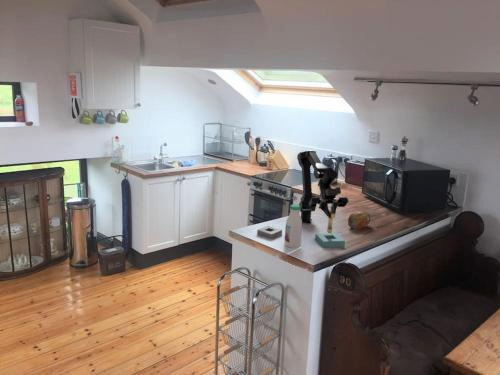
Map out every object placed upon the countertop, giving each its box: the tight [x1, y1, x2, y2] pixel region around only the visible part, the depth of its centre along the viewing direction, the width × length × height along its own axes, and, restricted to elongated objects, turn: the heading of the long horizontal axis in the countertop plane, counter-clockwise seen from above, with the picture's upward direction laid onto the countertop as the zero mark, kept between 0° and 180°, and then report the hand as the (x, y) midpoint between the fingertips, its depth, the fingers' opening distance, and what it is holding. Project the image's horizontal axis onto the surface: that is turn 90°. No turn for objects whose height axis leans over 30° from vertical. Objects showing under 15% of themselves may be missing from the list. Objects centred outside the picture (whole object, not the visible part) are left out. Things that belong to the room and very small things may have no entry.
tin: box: [347, 211, 371, 230], centre depth 237 cm, size 15×3×8 cm, turn 122°
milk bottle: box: [284, 204, 303, 249], centre depth 204 cm, size 8×8×20 cm
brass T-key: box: [326, 209, 336, 234], centre depth 209 cm, size 6×2×10 cm, turn 11°
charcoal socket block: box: [256, 225, 283, 240], centre depth 218 cm, size 9×9×3 cm
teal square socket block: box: [314, 232, 346, 248], centre depth 212 cm, size 11×11×3 cm
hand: (331, 217), depth 207 cm, fingers closed on brass T-key, 2 cm apart
